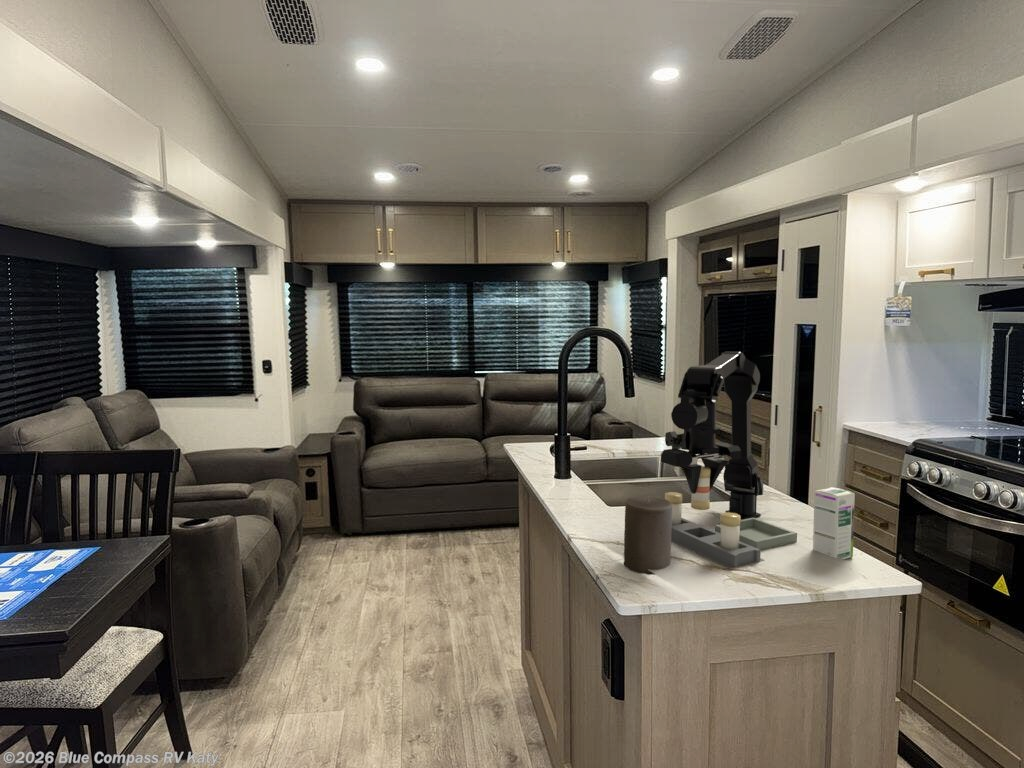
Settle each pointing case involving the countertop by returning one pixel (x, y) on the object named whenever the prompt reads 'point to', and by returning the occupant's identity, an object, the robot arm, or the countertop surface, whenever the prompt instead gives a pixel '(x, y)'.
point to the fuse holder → (712, 545)
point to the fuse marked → (702, 491)
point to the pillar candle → (647, 533)
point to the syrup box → (834, 522)
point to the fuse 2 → (730, 531)
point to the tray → (762, 534)
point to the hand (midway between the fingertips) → (700, 492)
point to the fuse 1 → (675, 506)
